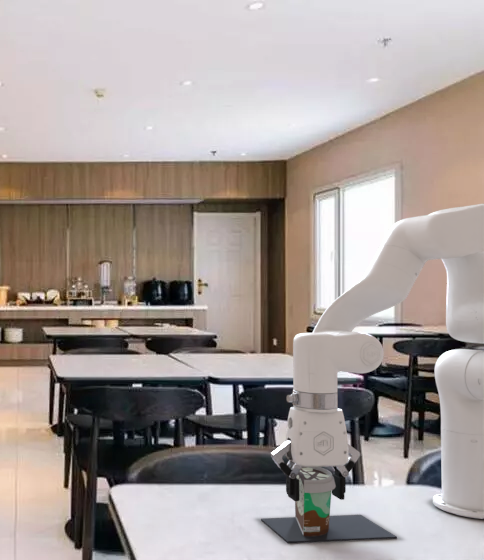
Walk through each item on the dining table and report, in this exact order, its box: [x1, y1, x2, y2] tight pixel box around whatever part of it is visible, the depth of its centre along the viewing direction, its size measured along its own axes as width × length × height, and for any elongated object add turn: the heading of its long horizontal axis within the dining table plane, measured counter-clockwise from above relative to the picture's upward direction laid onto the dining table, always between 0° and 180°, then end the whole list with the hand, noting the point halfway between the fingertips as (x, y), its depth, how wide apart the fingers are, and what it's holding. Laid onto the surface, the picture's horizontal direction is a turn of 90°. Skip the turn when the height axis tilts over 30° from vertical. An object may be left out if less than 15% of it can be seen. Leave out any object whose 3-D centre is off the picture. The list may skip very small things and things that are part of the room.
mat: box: [260, 514, 398, 544], centre depth 112 cm, size 20×11×1 cm, turn 97°
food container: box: [294, 467, 336, 536], centre depth 112 cm, size 12×6×10 cm, turn 168°
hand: (315, 497), depth 112 cm, fingers open, 8 cm apart
